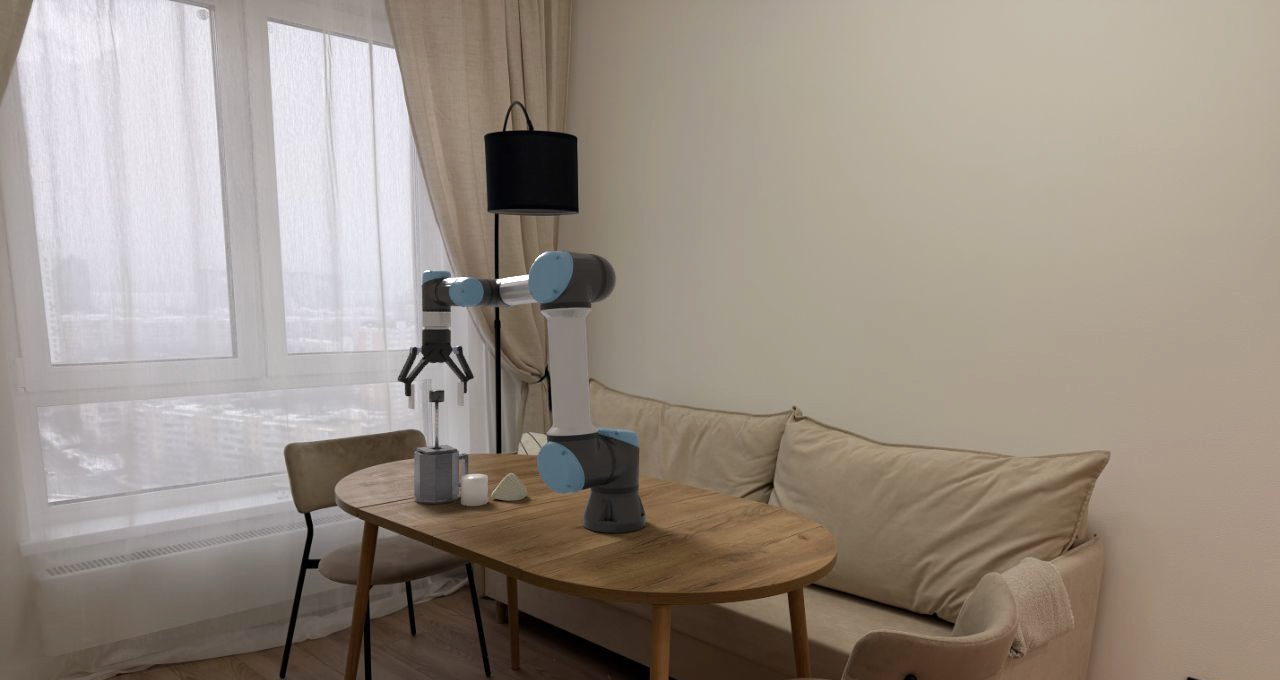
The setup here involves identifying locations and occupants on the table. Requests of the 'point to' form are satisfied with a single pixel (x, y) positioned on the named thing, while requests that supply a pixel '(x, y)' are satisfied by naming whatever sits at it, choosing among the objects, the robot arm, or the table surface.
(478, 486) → the white pillar candle
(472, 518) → the table surface
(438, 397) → the plunger
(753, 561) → the table surface
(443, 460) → the press
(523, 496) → the seashell
